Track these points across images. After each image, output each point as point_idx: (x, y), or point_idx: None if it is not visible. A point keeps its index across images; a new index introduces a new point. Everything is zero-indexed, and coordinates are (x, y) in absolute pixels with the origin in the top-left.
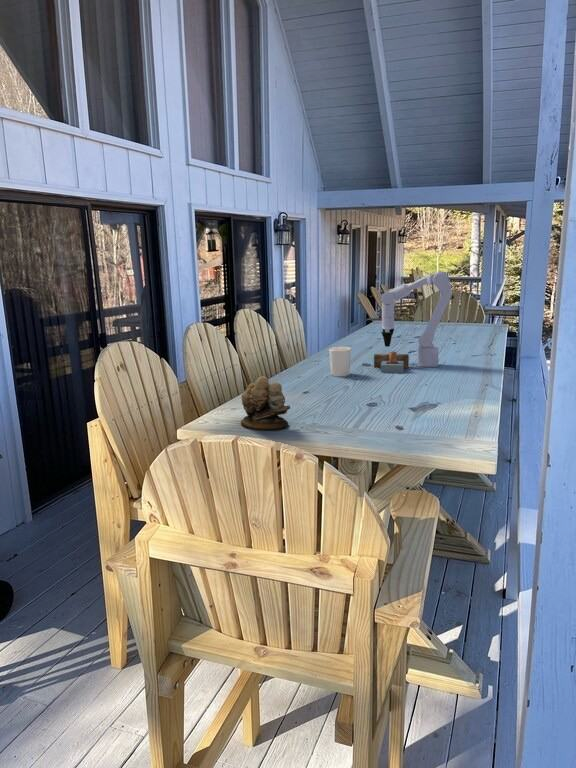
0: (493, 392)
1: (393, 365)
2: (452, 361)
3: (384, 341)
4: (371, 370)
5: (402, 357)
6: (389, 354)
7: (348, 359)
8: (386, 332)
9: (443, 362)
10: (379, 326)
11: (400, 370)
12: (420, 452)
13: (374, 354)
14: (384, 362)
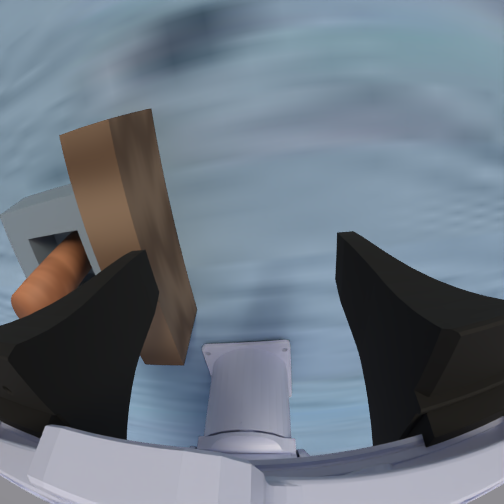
0: None
1: (27, 276)
2: (333, 416)
3: (91, 282)
4: (45, 132)
5: None
6: (22, 284)
7: None
8: (8, 407)
9: (316, 403)
10: (32, 476)
11: None
12: None
13: (90, 126)
14: (52, 219)
